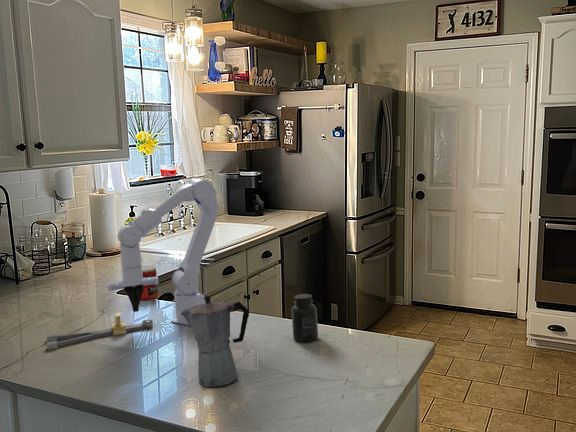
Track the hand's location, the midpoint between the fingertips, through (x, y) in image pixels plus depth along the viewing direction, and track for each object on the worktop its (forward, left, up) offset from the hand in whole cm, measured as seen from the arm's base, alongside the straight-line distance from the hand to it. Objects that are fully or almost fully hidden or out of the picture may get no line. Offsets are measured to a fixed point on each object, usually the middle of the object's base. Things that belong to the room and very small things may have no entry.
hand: (135, 310), depth 170 cm
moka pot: (-46, +18, -6) cm, 50 cm away
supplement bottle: (-51, -13, -6) cm, 53 cm away
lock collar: (+3, +4, -6) cm, 8 cm away
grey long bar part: (+6, +8, -6) cm, 12 cm away
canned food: (+23, -27, -6) cm, 36 cm away
